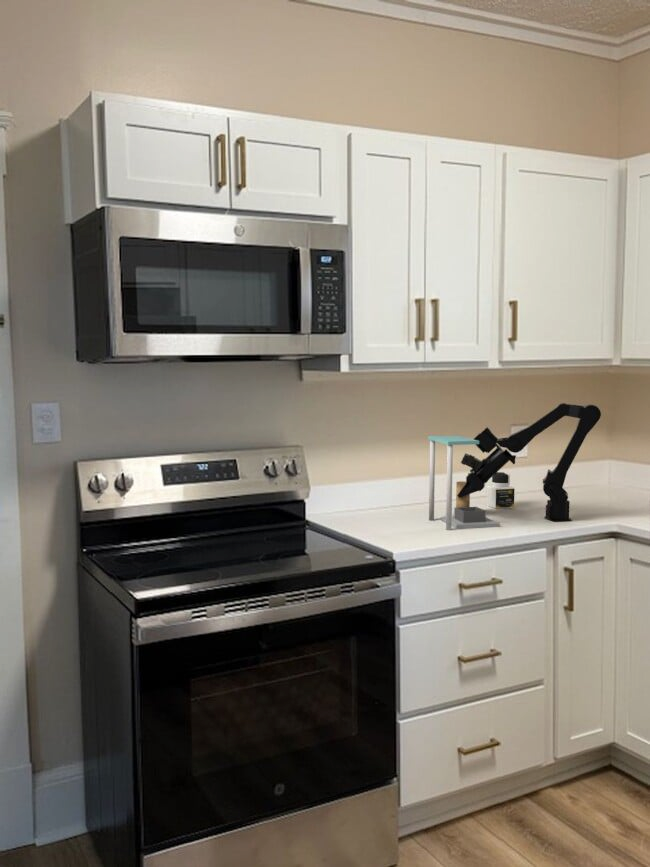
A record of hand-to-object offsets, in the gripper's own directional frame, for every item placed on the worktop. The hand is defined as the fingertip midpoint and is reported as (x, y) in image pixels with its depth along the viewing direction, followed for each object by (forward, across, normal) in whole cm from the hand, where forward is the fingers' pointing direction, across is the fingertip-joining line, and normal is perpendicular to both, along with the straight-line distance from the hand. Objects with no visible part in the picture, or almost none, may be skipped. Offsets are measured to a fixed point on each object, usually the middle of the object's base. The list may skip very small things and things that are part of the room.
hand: (458, 495), depth 287 cm
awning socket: (+3, +14, +7) cm, 16 cm away
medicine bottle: (-4, -19, +14) cm, 24 cm away
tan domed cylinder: (+4, 0, +6) cm, 7 cm away
